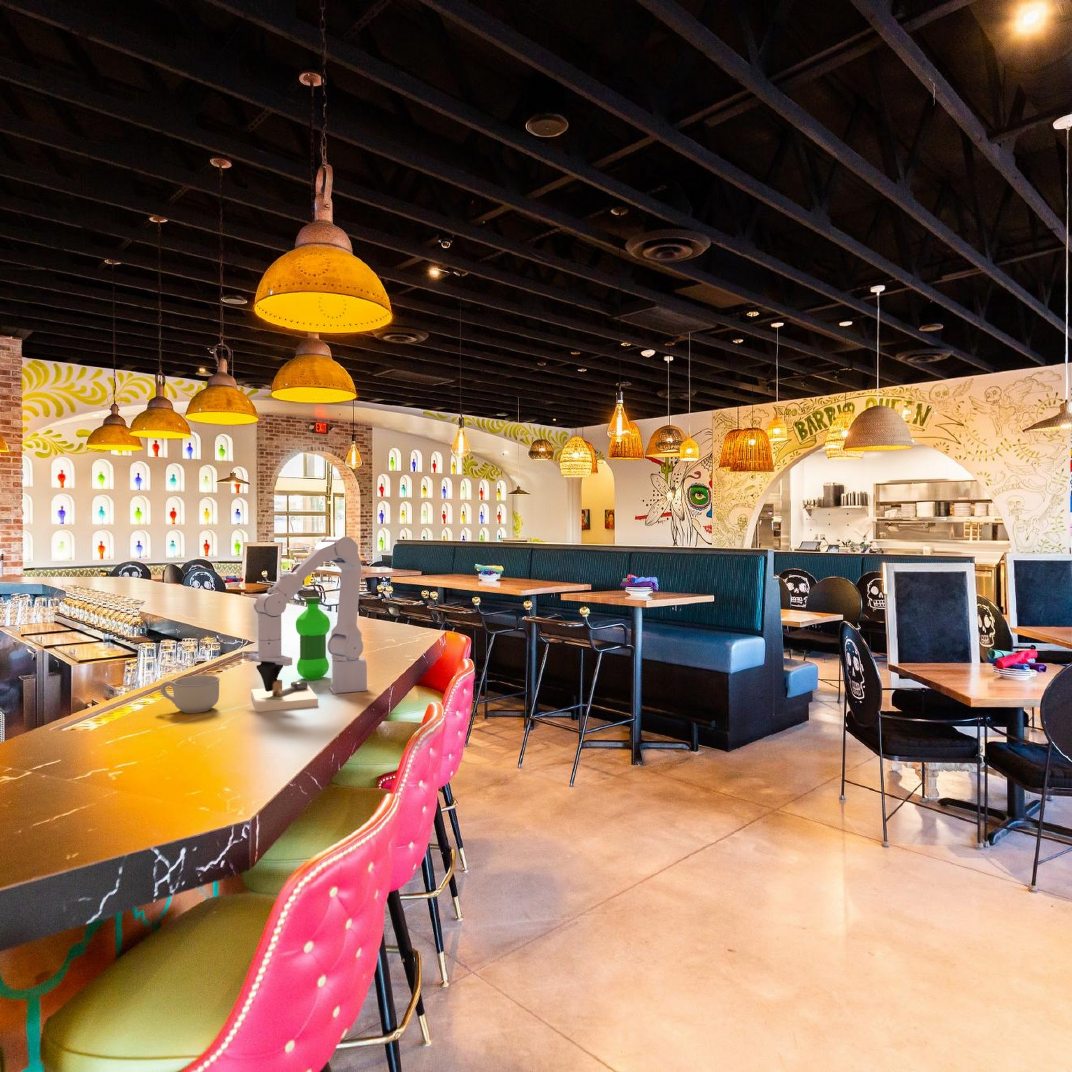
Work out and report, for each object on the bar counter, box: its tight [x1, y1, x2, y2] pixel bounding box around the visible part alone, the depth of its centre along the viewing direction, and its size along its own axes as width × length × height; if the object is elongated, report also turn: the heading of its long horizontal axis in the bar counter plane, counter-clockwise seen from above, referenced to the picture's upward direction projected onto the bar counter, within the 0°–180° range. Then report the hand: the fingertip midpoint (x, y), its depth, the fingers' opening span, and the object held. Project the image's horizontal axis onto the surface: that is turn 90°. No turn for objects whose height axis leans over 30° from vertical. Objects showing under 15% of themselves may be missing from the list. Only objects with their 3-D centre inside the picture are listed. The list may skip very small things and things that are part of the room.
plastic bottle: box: [295, 596, 331, 681], centre depth 227 cm, size 10×10×25 cm
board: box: [250, 684, 319, 713], centre depth 195 cm, size 15×19×2 cm
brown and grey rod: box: [270, 679, 309, 698], centre depth 196 cm, size 15×4×4 cm, turn 165°
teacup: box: [160, 674, 221, 714], centre depth 185 cm, size 14×11×8 cm
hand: (270, 690), depth 192 cm, fingers closed
